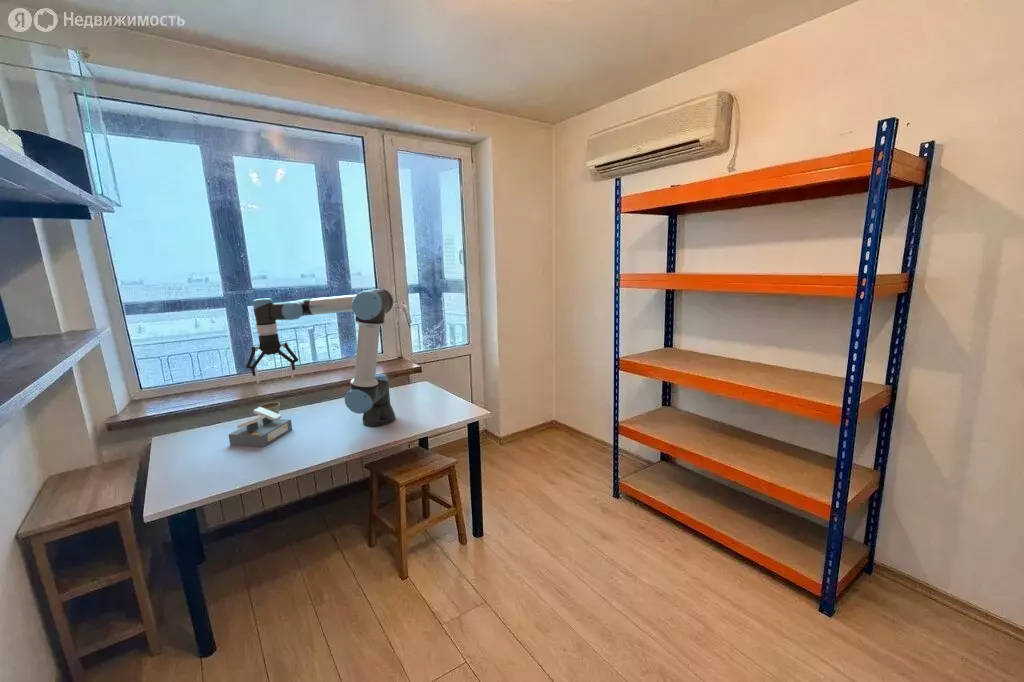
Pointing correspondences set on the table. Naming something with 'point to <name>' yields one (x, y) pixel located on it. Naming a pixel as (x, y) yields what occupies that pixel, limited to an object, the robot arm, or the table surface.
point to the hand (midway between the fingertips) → (275, 380)
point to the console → (260, 433)
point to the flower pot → (271, 406)
